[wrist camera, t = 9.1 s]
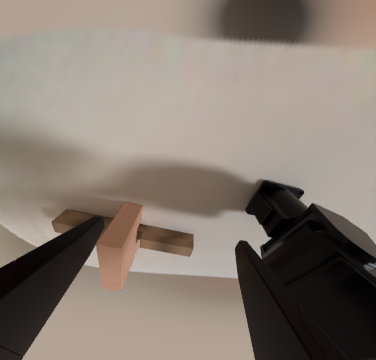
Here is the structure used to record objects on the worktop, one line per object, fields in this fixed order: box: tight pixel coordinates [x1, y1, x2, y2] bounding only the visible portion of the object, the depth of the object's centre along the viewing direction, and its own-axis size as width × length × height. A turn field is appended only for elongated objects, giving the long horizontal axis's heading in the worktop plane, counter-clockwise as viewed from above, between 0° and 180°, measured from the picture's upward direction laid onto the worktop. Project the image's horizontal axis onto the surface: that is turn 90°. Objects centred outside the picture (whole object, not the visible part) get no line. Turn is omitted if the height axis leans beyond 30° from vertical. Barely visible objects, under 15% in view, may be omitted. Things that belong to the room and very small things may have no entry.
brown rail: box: [52, 209, 193, 257], centre depth 25 cm, size 24×2×3 cm, turn 76°
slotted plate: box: [96, 202, 143, 291], centre depth 23 cm, size 3×12×8 cm, turn 166°
